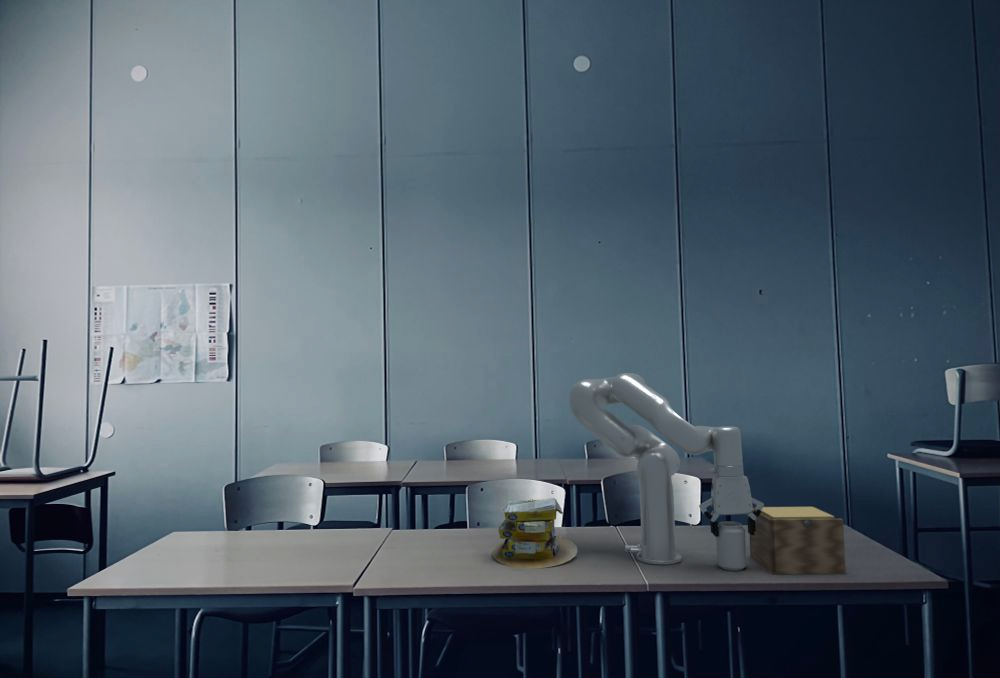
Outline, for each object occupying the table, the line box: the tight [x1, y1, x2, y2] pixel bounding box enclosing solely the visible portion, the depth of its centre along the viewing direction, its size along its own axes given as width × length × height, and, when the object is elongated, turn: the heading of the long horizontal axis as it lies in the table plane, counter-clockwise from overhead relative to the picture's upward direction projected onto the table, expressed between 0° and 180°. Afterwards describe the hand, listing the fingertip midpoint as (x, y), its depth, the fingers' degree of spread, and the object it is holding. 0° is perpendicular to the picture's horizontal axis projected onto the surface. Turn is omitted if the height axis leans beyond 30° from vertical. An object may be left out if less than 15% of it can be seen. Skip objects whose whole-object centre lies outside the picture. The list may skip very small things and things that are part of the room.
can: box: [716, 521, 747, 572], centre depth 185 cm, size 8×8×12 cm
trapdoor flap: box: [761, 506, 836, 519], centre depth 187 cm, size 16×14×1 cm
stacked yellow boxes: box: [492, 497, 578, 569], centre depth 200 cm, size 25×25×17 cm
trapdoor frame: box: [749, 506, 847, 575], centre depth 186 cm, size 19×19×14 cm
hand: (733, 535), depth 185 cm, fingers open, 9 cm apart
